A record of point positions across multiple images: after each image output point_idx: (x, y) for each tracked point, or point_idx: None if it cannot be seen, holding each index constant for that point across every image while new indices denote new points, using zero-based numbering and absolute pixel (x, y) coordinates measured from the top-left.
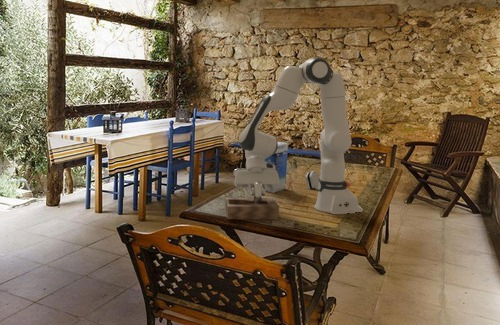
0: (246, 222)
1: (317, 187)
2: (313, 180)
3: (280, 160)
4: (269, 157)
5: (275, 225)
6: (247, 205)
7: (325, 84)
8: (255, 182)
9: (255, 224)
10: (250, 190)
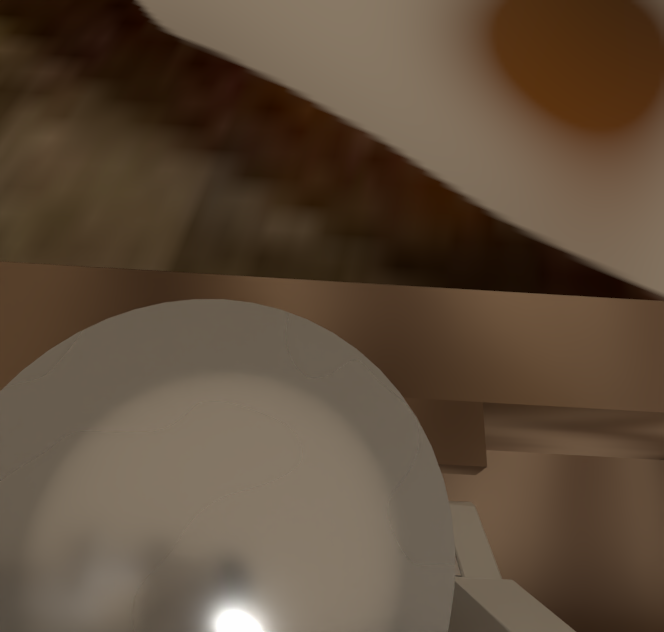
0: (465, 264)
1: None
2: None
3: None
4: None
5: (173, 165)
6: (497, 350)
7: None
8: (371, 610)
9: (375, 203)
10: (513, 588)
